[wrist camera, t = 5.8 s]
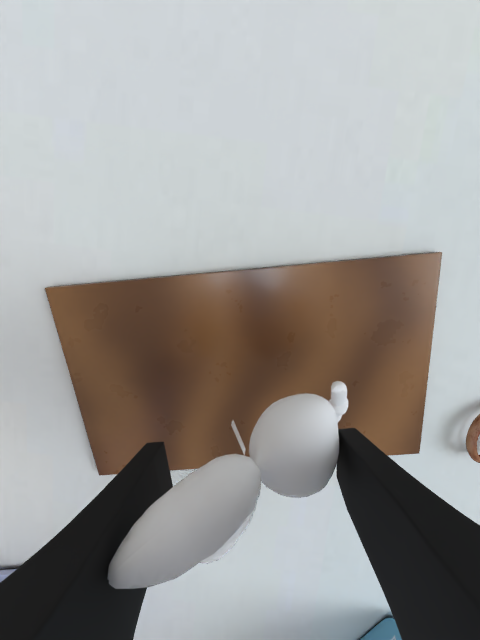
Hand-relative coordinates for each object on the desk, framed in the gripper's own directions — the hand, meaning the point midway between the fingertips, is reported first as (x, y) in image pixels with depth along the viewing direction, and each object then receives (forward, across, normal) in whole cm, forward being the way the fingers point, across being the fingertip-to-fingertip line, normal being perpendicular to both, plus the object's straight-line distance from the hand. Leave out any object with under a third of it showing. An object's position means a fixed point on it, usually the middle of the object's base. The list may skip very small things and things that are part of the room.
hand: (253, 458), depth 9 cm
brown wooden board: (+6, 0, 0) cm, 6 cm away
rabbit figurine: (+2, 0, 0) cm, 2 cm away
